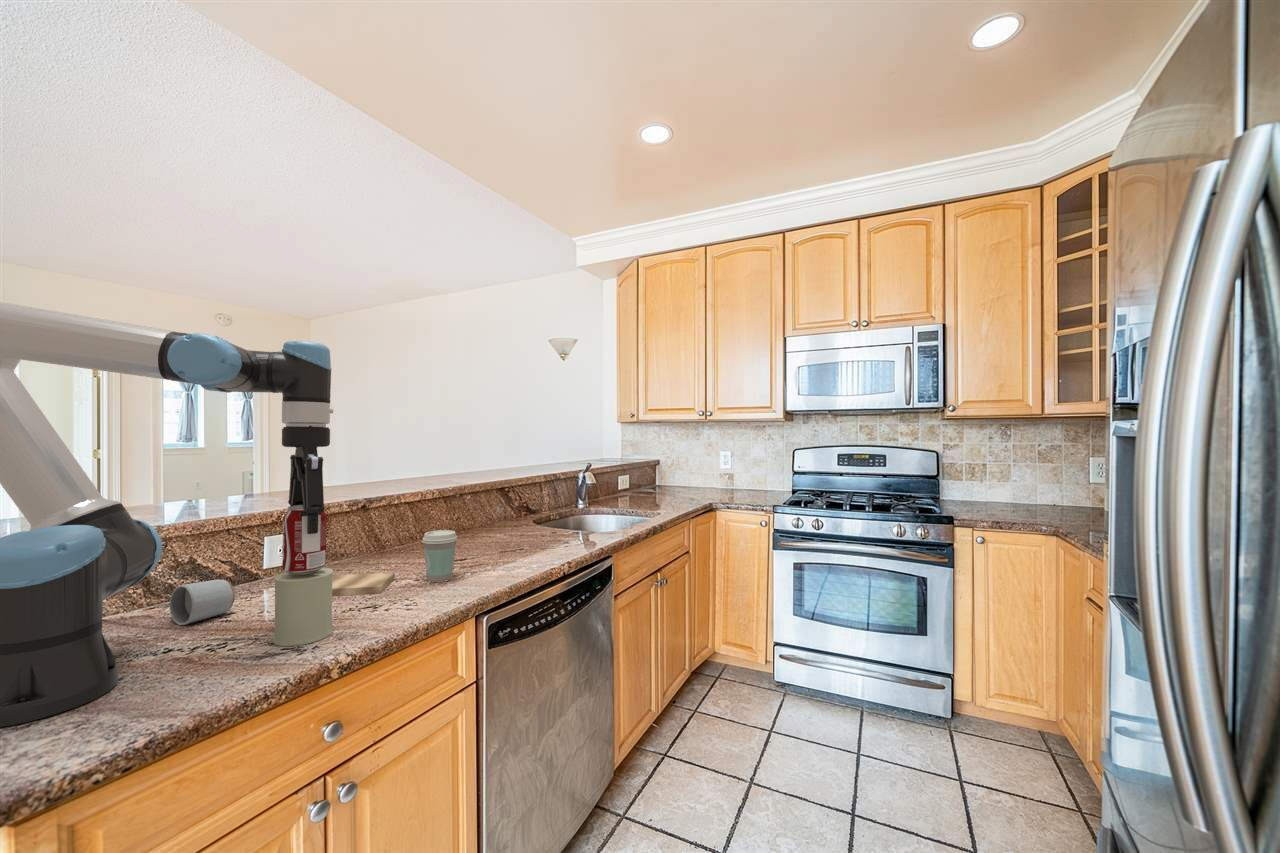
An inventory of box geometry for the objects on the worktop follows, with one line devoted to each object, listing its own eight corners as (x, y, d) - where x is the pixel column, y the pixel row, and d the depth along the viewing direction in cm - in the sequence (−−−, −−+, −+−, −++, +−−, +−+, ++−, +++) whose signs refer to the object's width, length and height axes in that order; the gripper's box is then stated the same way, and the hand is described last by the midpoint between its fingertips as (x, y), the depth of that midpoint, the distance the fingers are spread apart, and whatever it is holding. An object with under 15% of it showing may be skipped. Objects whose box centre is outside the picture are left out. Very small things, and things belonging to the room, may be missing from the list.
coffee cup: (433, 574, 136) (433, 529, 136) (463, 575, 135) (463, 530, 135) (414, 583, 128) (415, 535, 128) (446, 585, 127) (447, 536, 127)
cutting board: (304, 597, 117) (305, 590, 117) (326, 582, 128) (326, 575, 128) (380, 593, 120) (380, 586, 120) (394, 578, 132) (394, 572, 132)
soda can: (332, 570, 96) (333, 505, 96) (292, 578, 90) (293, 510, 90) (315, 564, 99) (316, 502, 99) (275, 572, 94) (276, 507, 94)
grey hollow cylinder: (237, 614, 106) (238, 576, 106) (191, 628, 98) (192, 587, 98) (205, 608, 110) (205, 572, 110) (158, 621, 102) (158, 582, 102)
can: (303, 648, 89) (304, 579, 89) (259, 643, 91) (260, 576, 91) (344, 628, 98) (345, 566, 98) (303, 624, 100) (304, 563, 100)
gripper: (345, 425, 90) (343, 554, 90) (315, 426, 105) (314, 535, 105) (294, 424, 85) (293, 561, 84) (271, 425, 100) (269, 541, 100)
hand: (304, 547), depth 95 cm, fingers open, 9 cm apart
